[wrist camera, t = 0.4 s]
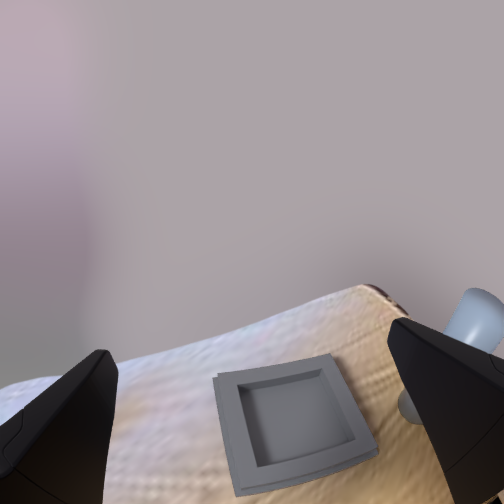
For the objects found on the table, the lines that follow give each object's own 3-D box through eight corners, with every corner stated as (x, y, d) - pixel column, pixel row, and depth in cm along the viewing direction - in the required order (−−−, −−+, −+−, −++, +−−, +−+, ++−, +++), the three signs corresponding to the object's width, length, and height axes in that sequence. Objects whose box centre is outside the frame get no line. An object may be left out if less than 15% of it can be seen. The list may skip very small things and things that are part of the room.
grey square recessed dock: (375, 455, 16) (385, 448, 15) (236, 497, 14) (235, 494, 13) (328, 360, 26) (332, 348, 25) (213, 381, 24) (211, 369, 23)
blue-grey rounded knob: (444, 411, 18) (518, 319, 12) (411, 432, 17) (494, 340, 11) (423, 379, 22) (482, 283, 16) (390, 394, 21) (452, 294, 15)
